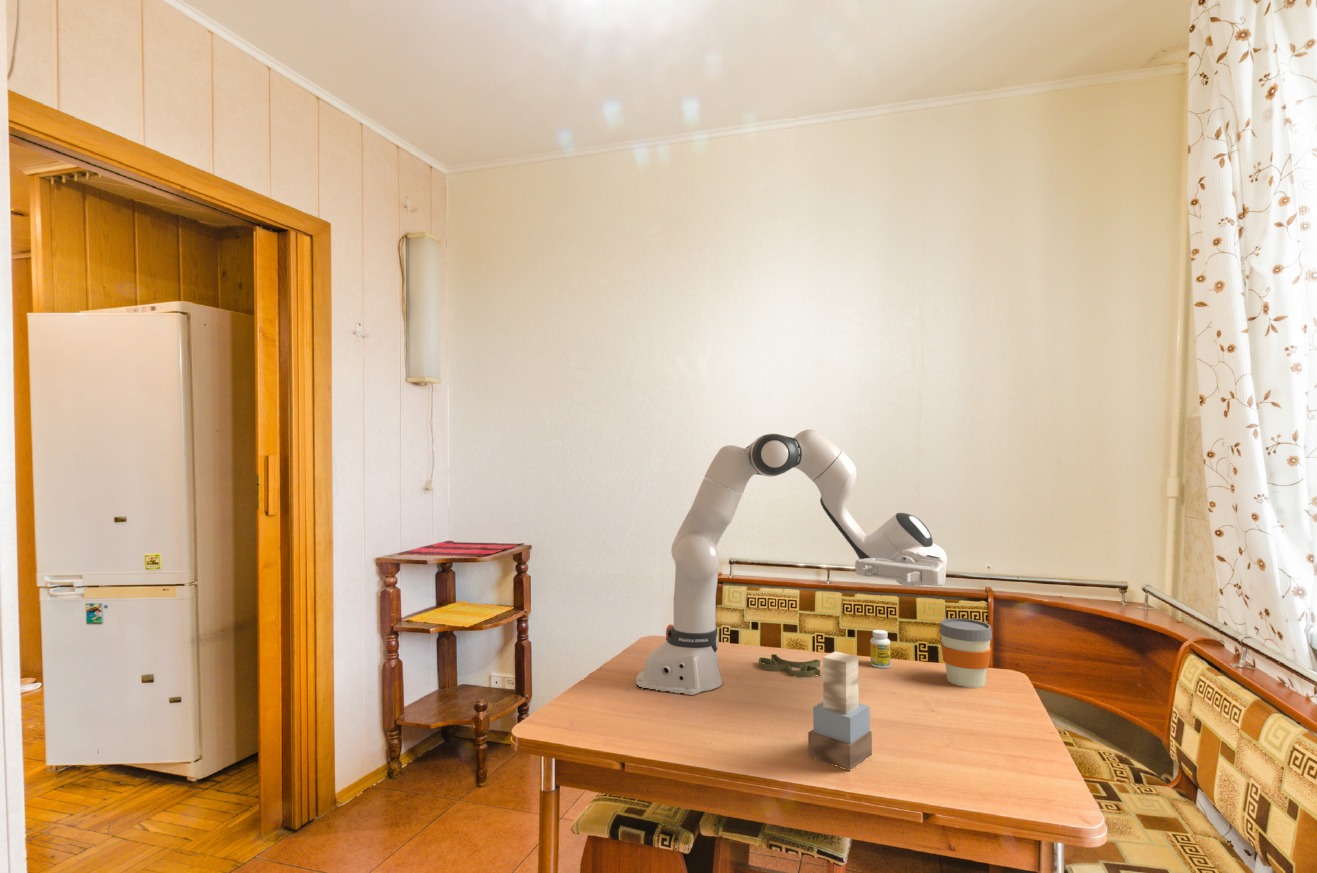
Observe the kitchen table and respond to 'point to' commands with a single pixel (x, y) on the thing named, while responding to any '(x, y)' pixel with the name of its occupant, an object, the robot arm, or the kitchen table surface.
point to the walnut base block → (839, 750)
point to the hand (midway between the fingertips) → (884, 575)
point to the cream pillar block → (840, 682)
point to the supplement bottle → (880, 649)
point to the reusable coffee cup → (966, 651)
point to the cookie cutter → (806, 667)
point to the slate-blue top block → (841, 723)
